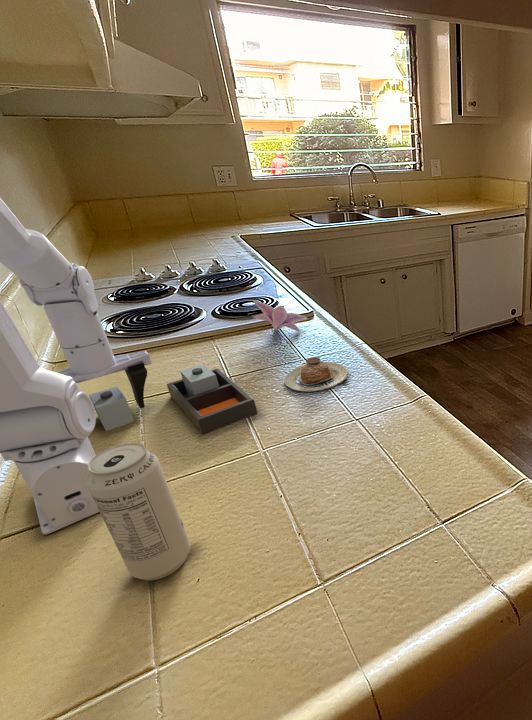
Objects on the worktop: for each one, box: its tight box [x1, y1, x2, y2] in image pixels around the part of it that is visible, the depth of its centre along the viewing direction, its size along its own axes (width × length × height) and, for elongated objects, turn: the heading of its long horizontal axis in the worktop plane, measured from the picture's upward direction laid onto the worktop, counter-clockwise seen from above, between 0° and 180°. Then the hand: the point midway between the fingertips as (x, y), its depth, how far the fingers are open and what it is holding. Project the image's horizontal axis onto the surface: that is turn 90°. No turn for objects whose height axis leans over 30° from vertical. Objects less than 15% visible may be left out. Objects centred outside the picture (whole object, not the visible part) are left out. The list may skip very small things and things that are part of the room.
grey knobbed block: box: [88, 386, 135, 432], centre depth 77 cm, size 6×4×6 cm, turn 46°
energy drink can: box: [86, 442, 191, 582], centre depth 50 cm, size 6×6×15 cm
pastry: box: [283, 356, 349, 393], centre depth 91 cm, size 12×12×5 cm
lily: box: [252, 300, 309, 343], centre depth 109 cm, size 12×12×10 cm
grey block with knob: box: [179, 363, 219, 397], centre depth 84 cm, size 6×4×6 cm, turn 46°
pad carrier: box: [166, 367, 258, 436], centre depth 82 cm, size 17×9×3 cm, turn 46°
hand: (114, 414), depth 78 cm, fingers open, 7 cm apart
